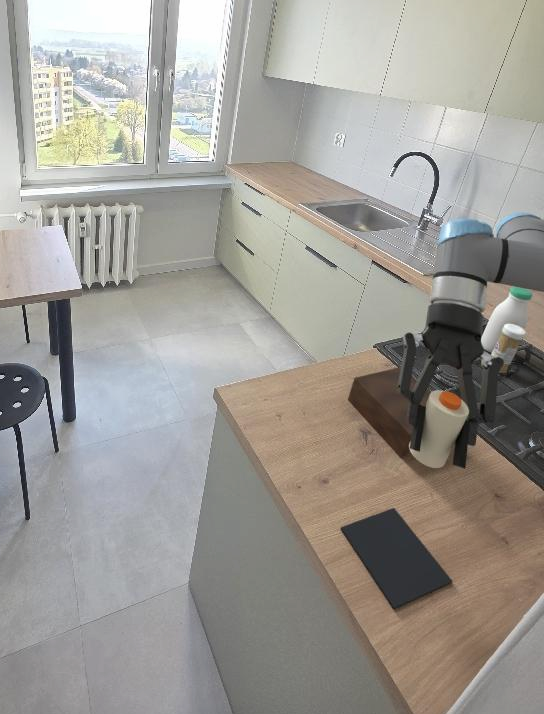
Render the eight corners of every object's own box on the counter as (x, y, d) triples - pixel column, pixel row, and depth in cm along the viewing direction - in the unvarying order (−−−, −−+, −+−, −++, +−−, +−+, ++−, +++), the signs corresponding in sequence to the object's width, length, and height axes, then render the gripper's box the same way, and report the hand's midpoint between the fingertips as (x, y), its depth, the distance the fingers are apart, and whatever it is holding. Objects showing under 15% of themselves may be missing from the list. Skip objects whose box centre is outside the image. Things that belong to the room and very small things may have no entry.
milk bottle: (508, 361, 116) (538, 302, 108) (476, 347, 121) (501, 289, 113) (514, 349, 121) (542, 291, 113) (482, 336, 126) (507, 279, 118)
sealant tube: (452, 463, 65) (480, 407, 60) (428, 471, 63) (454, 415, 59) (425, 436, 69) (448, 382, 64) (401, 443, 68) (424, 388, 63)
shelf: (450, 441, 92) (460, 418, 89) (400, 457, 87) (410, 434, 85) (392, 387, 105) (400, 366, 103) (347, 399, 101) (354, 377, 98)
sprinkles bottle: (482, 361, 116) (500, 321, 111) (500, 363, 116) (519, 324, 110) (492, 373, 112) (511, 332, 106) (510, 375, 111) (530, 335, 106)
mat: (451, 583, 67) (452, 581, 67) (393, 609, 64) (394, 608, 63) (393, 509, 78) (394, 507, 77) (340, 528, 74) (340, 527, 74)
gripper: (511, 329, 69) (498, 481, 62) (390, 298, 75) (366, 432, 69) (534, 320, 62) (523, 489, 55) (399, 288, 69) (374, 434, 62)
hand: (436, 457), depth 62 cm, fingers closed on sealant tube, 5 cm apart
